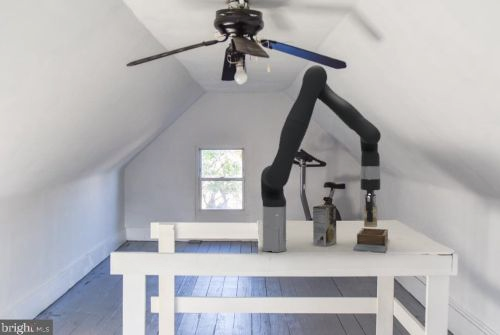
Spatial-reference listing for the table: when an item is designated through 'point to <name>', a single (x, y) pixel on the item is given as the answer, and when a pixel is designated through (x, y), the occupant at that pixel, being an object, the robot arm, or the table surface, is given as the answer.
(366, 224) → the oak block
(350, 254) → the table surface
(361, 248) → the slate mat
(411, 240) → the table surface
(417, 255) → the table surface
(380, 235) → the walnut surround
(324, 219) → the coffee box
